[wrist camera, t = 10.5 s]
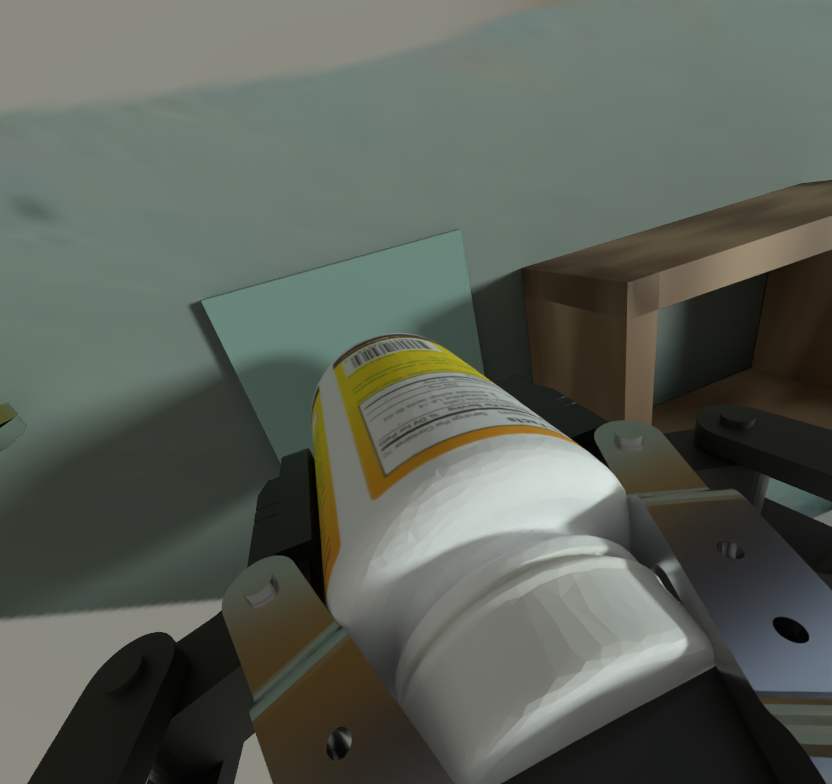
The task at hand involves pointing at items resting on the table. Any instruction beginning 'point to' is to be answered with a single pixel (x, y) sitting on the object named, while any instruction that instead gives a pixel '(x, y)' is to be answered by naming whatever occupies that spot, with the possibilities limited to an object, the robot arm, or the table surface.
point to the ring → (10, 426)
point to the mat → (340, 324)
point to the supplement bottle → (484, 562)
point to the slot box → (683, 279)
